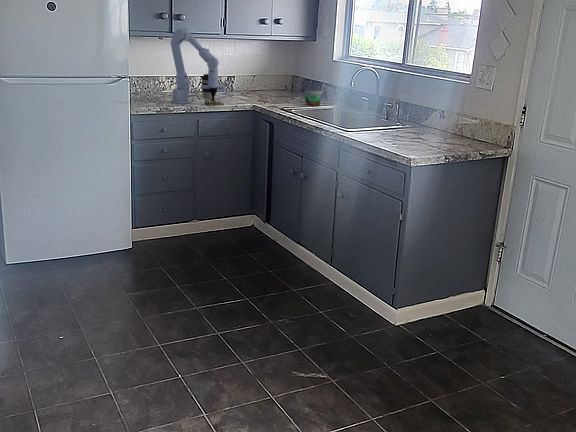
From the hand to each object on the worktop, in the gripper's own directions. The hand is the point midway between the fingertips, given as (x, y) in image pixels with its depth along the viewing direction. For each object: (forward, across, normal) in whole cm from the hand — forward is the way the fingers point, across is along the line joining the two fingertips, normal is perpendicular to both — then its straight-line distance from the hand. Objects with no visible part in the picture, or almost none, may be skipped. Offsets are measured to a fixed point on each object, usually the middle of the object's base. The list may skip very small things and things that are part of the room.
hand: (213, 100), depth 397 cm
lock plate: (+3, 0, +3) cm, 4 cm away
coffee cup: (+3, -8, +27) cm, 28 cm away
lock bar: (+1, -1, +2) cm, 2 cm away
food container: (+5, +61, +30) cm, 68 cm away
